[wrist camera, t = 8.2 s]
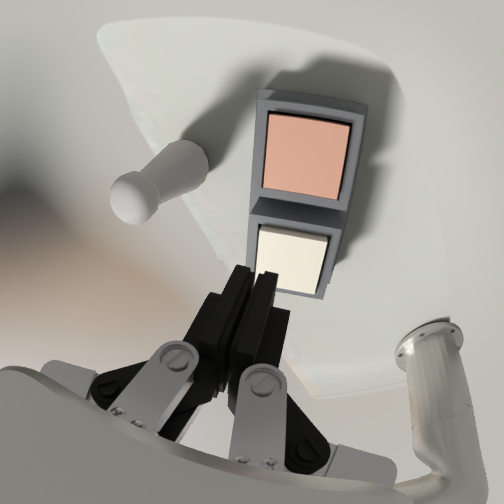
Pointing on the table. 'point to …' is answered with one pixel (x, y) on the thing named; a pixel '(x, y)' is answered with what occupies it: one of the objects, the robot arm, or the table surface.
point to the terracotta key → (305, 154)
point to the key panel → (297, 204)
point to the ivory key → (291, 257)
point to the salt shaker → (159, 181)
